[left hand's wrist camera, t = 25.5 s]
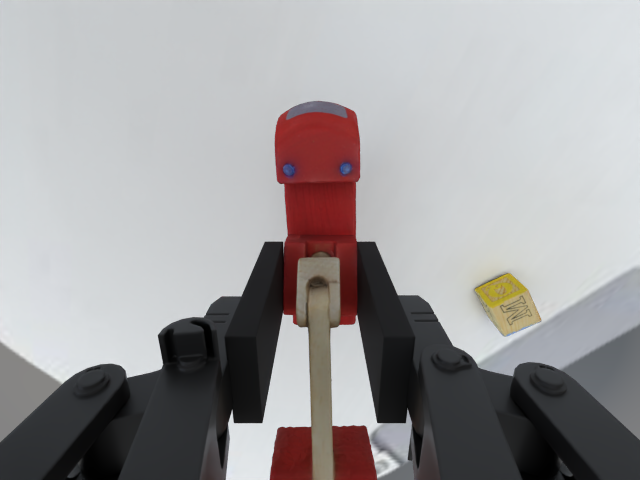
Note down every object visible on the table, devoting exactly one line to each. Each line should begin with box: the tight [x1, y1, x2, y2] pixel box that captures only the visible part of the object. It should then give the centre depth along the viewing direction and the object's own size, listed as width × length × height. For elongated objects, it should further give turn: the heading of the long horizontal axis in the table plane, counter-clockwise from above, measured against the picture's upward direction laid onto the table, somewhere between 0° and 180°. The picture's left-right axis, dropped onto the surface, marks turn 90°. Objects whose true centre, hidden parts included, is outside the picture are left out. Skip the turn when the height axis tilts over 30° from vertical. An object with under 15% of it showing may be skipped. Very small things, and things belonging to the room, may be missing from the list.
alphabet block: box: [475, 273, 541, 336], centre depth 27 cm, size 3×3×3 cm
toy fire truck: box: [270, 101, 377, 480], centre depth 13 cm, size 3×14×10 cm, turn 1°
